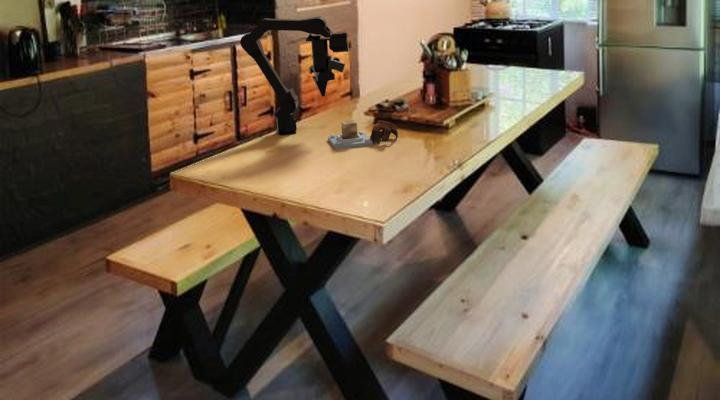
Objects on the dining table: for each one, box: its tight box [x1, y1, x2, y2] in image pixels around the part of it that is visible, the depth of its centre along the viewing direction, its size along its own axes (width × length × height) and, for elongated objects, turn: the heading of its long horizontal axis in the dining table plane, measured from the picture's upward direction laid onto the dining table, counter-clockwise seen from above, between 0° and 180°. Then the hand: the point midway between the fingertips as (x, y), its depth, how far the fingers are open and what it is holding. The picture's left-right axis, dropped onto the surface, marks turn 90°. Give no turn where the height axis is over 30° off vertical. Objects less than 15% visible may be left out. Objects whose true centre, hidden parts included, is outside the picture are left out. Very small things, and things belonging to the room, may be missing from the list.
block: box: [340, 119, 358, 139], centre depth 260 cm, size 4×4×6 cm
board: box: [327, 131, 374, 150], centre depth 261 cm, size 13×13×2 cm
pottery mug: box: [369, 119, 399, 145], centre depth 259 cm, size 12×10×8 cm
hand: (323, 96), depth 274 cm, fingers closed
